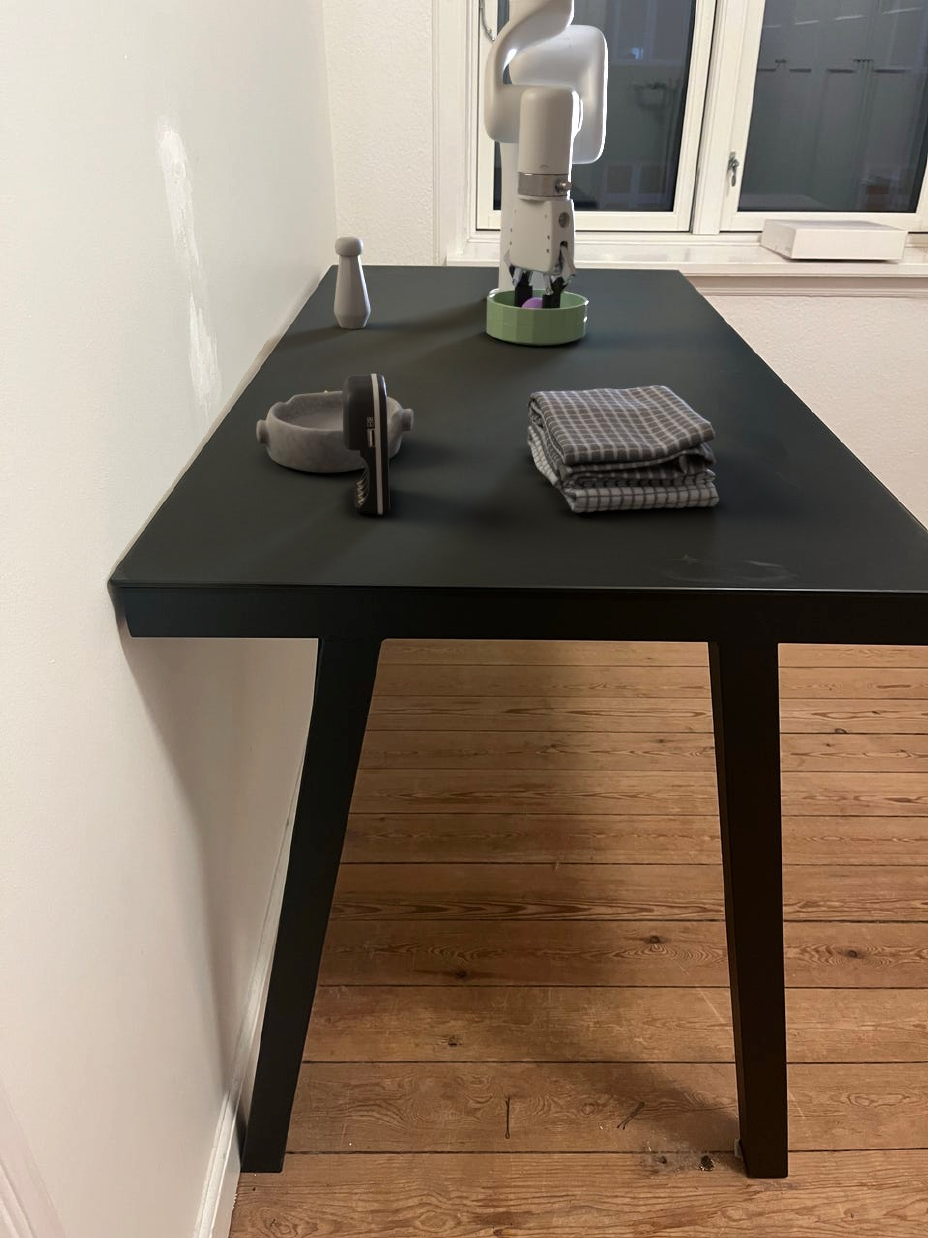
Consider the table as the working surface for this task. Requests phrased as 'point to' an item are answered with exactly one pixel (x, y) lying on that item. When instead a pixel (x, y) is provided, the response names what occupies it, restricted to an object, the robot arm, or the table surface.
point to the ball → (533, 303)
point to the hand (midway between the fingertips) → (536, 315)
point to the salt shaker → (350, 285)
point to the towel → (622, 448)
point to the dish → (321, 433)
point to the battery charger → (368, 439)
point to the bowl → (536, 319)
